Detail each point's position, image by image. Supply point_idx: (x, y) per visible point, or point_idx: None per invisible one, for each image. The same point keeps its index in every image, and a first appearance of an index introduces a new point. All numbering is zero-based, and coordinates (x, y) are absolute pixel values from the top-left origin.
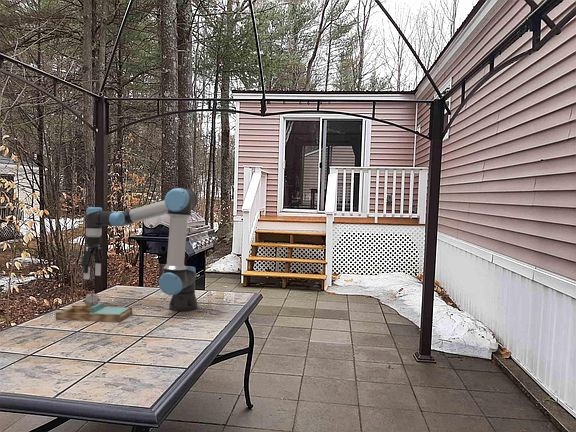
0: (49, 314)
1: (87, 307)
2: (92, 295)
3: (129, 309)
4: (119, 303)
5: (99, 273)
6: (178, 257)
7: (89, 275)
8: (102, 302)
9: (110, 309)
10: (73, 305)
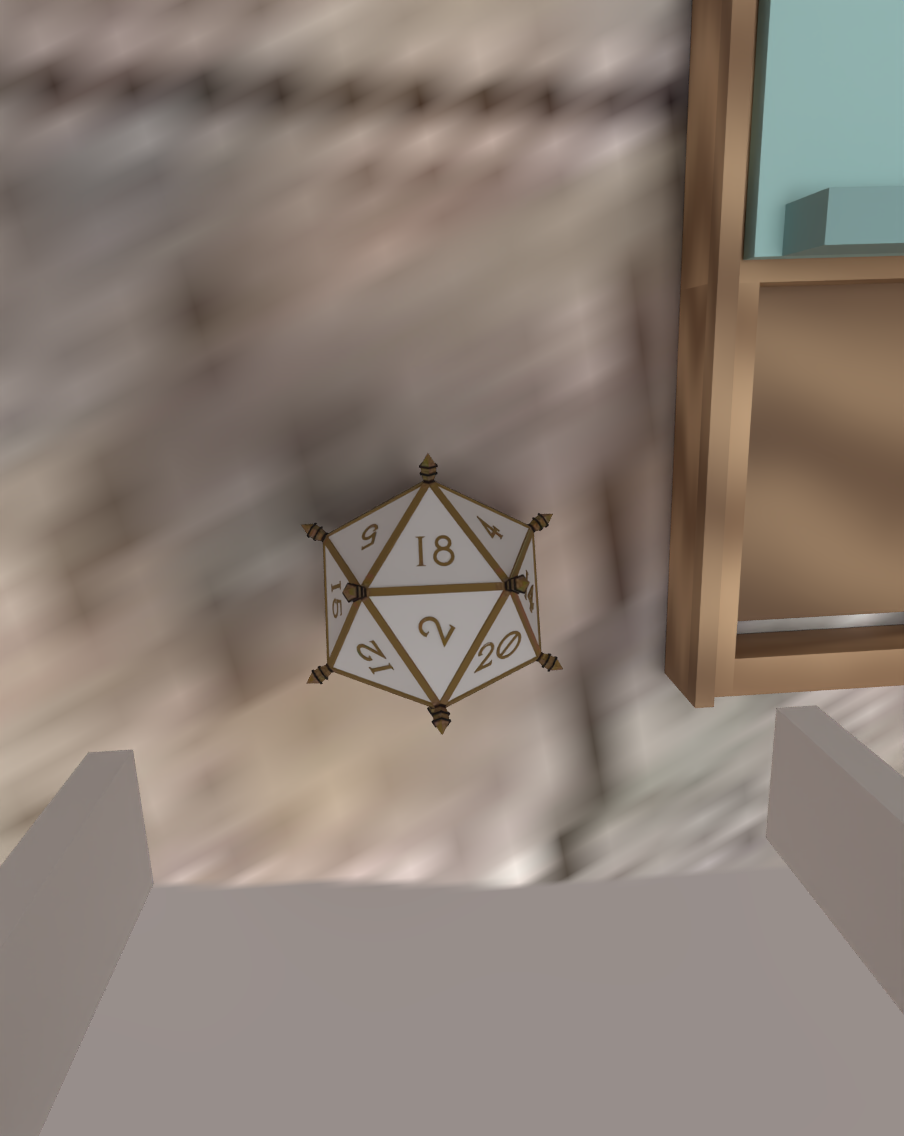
0: None
1: (719, 491)
2: (508, 579)
3: None
4: (63, 305)
5: (114, 802)
6: None
7: (849, 761)
8: (835, 218)
9: None
10: (703, 694)
